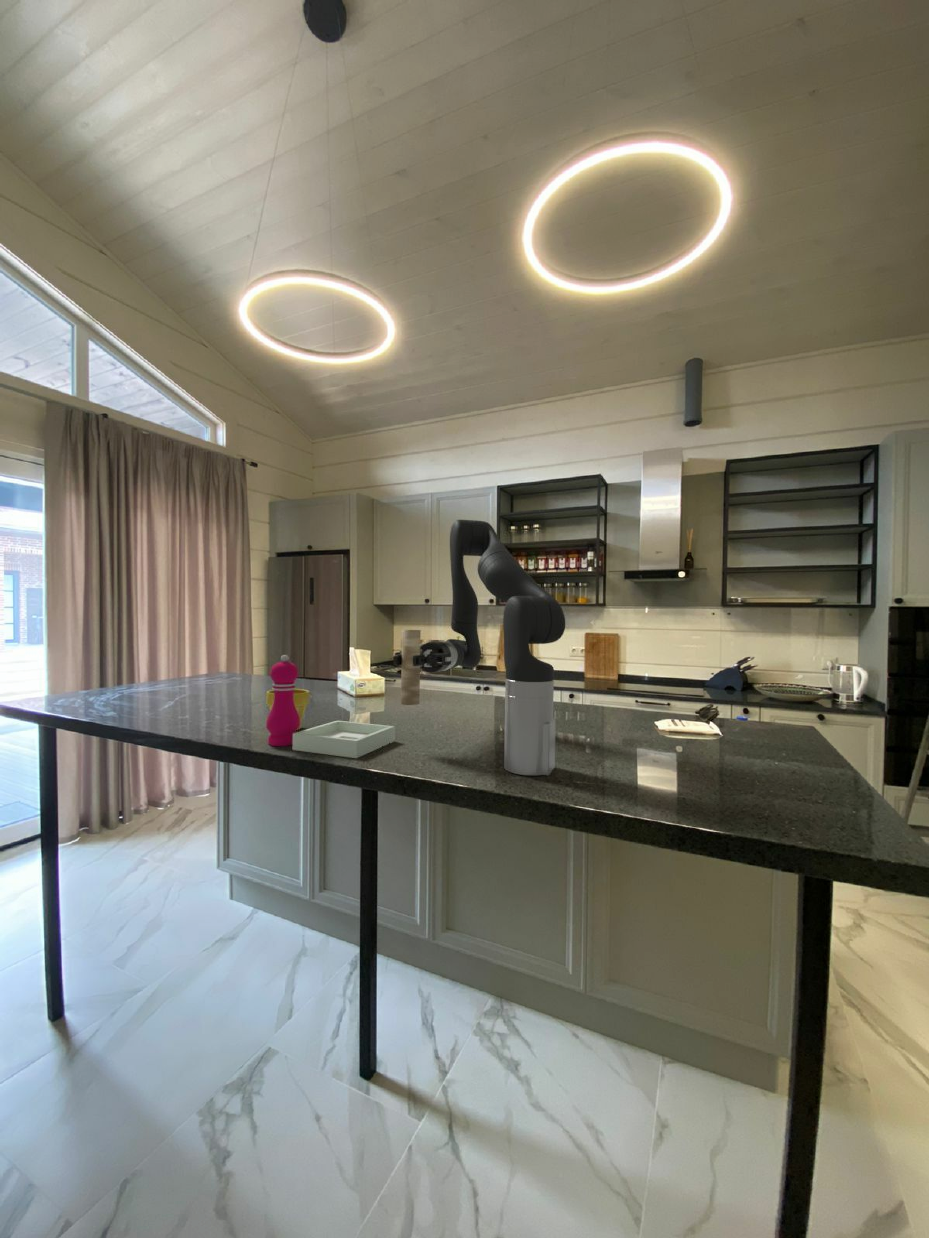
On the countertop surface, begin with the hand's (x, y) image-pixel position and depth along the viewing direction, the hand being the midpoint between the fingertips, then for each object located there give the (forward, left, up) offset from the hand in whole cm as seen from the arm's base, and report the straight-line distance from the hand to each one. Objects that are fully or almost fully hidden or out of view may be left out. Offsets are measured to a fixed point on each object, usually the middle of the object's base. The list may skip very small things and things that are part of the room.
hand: (405, 660), depth 105 cm
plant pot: (+38, -9, -20) cm, 44 cm away
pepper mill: (+29, +3, -20) cm, 35 cm away
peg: (0, -3, -10) cm, 10 cm away
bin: (+15, -1, -20) cm, 25 cm away
